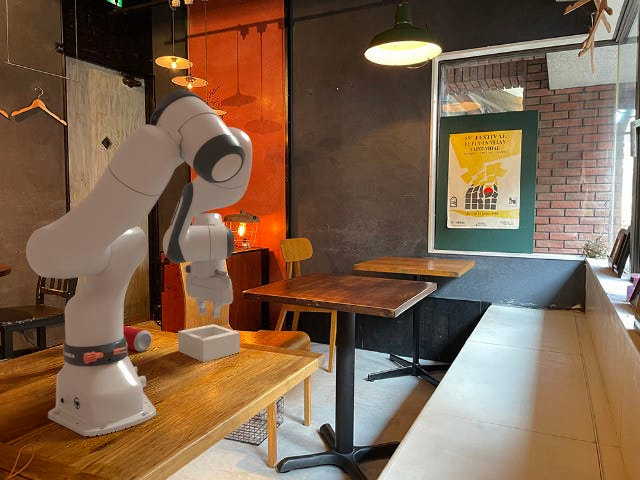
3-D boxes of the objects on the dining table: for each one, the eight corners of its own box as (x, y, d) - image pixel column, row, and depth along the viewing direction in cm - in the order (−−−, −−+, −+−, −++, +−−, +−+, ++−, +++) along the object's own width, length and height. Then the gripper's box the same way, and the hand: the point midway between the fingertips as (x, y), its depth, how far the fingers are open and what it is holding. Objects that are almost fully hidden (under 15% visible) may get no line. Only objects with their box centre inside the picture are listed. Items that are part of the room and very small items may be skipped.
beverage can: (156, 334, 141) (131, 329, 147) (141, 327, 136) (115, 322, 142) (148, 354, 138) (122, 348, 145) (132, 348, 134) (106, 342, 140)
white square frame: (239, 352, 137) (239, 332, 136) (203, 362, 128) (203, 340, 128) (213, 343, 146) (213, 324, 146) (178, 351, 138) (178, 331, 138)
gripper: (238, 271, 130) (238, 320, 131) (200, 264, 145) (201, 308, 146) (218, 273, 126) (219, 323, 127) (181, 266, 140) (182, 311, 141)
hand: (209, 315), depth 136 cm, fingers open, 6 cm apart
